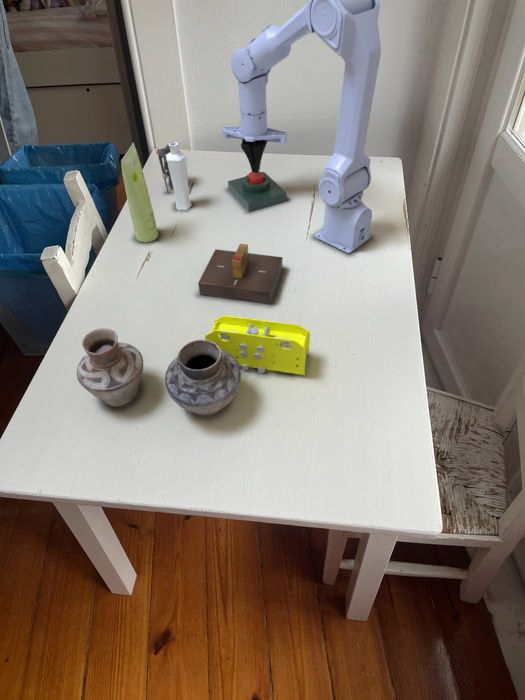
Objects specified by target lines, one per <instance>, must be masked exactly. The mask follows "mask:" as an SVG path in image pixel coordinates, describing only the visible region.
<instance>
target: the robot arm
mask: <svg viewBox="0 0 525 700" xmlns="http://www.w3.org/2000/svg"><path fill="white" fill-rule="evenodd" d="M380 7H381V2H380V0H307V2H306V3H305V4H304V5H303V6H301V8H300V9H299V10H297V12H295V13H294V15H292V16H291V17H290V18H289V19H288V20H287V21H286V22H285V23H283V25H281V26H280V25H277V24H273V25H272V24H267V25H265V26H263V27H262V28H261V32H262V33H261V34H259V35H257V37H253V38H251V39H250V40H248V45H247V46H246V47H243V48H236V49H234V51H233V53H232V54H231V58H230V67H231V71H232V74H233V76H234V78H235V79H236V80H237V83H238V98H239V100H238V101H239V116H240V117H239V118H240V126H224V127H223V128H222V130H221V135H222V139H223V140H228V139H238V140H241V144H240V147H241V150H242V151H243V152H244V154H245V156H246V158H247V160H248V164H249V166H250V169H251V172H254V173H258V171H260V169H261V164H262V158H263V155H264V152H265V149H266V146H267V144H268V142H269V143H270V142H271V143H279V144H281V145H286V143H287V141H288V132H287V131H283V130H278V129H274V128H270V127H268V111H267V85H268V83H269V74H270V73H271V71H272V68H273V67H275V66H277V65H278V64H279V63H281V62H282V61H283V60H285V59H287V58H288V56H289V55H290V53H291V50H292V45H293V44H295V43H296V42H298V41H299V40H301V39H302V38H303V37H305V36H307V35H309V34H314V33H315V34H316V36H318V38H319V39H321V41H322V42H324V43H325V44H326V45H327V46H328V48H329V49H331V50H332V51H333V52H334V53H335V54H336V55H337V56H339V57H341V58H342V60H343V61H344V72H343V78H342V86H341V87H342V88H341V94H340V95H341V96H340V103H339V112H338V117H337V118H338V119H337V127H336V135H335V142H334V150H333V154H332V156H331V157H330V158H329V160H328V161H327V163H326V164H325V165H324V169H323V175H322V177H321V178H320V180H319V182H318V193H319V196H320V198H321V200H322V201H323V203H324V216H323V228H322V229H321V230H320V231H318V232H316V233H315V234H314V238H315V239H317V240H319V241H321V242H323V243H326V244H328V245H330V246H332V247H334V248H336V249H338V250H340V251H342V252H344V253H346V254H351V253H352V252H353V251H355V250H356V249H358V248H359V247H360V246H362V245H364V243H366V242H367V241H368V240H369V239H371V237H372V236H371V235H370V232H371V231H370V230H371V224H372V218H373V210H372V209H371V208H370V207H369V206H367V205H366V204H364V202H363V200H362V198H363V196H364V191H365V190H367V189H368V188H369V187H370V185H371V183H372V173H371V168H370V166H371V158H370V157H369V156H368V155H367V154H365V153H364V152H365V146H366V141H367V135H368V129H369V124H370V119H371V113H372V107H373V102H374V101H373V100H374V94H375V90H376V84H377V78H378V72H379V67H380V61H381V53H382V44H381V37H380V29H379V21H378V19H379V14H380Z"/></svg>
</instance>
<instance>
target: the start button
mask: <svg viewBox="0 0 525 700" xmlns="http://www.w3.org/2000/svg"><path fill="white" fill-rule="evenodd" d="M262 172H263V171H260V170H259V171H258V173H254V172H252V171H250V172H249V173H248V174H247V175H248V177H249V183H251V184H261V183H263V182H264V174H263V173H262Z"/></svg>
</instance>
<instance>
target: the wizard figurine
mask: <svg viewBox="0 0 525 700" xmlns="http://www.w3.org/2000/svg"><path fill="white" fill-rule="evenodd" d="M171 142H172V141H170V142H169V143H171ZM169 143H167V144H166V146H165V147H164V148H163V147H162V148H157V149H156V151H155V153H156V155H158V156H157V157H158V160H159V165H160V169H161V172H162V176H161V177H162V178H163V181H164V184H165V188H166V192H167V193H169V189H168V186H169V188H170V189H171V190H174V188H173V184H172V180H171V176H170V172H169V168H168V163H167V159H166V154H168V153H170V146H169ZM179 152H180V153H181V151H180V150H179ZM167 179H168V183H167Z"/></svg>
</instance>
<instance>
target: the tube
mask: <svg viewBox="0 0 525 700" xmlns="http://www.w3.org/2000/svg"><path fill="white" fill-rule="evenodd" d="M120 165H121V173H122V180H123V184H124V185H123V186H124V189H125V194H126V200H127V203H128V204H127V205H128V209H129V214H130V218H131V222H132V226H133V230H134V235H135V238H136V240H137V241H138V242H141V243H151V242H153V241H155V240H156V239H157V238H158V236H159V231H158V226H157V222H156V218H155V214H154V209H153V206H152V201H151V198H150V194H149V189H148V185H147V182H146V178H145V175H144V171H143V167H142V164H141V161H140V157H139V154H138V151H137V148H136V146H135V142H132V144H131V145H130V147H129V149H128V150H127V151H126V153H125V154H124V156H123V157H122V159H121V160H120Z"/></svg>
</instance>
